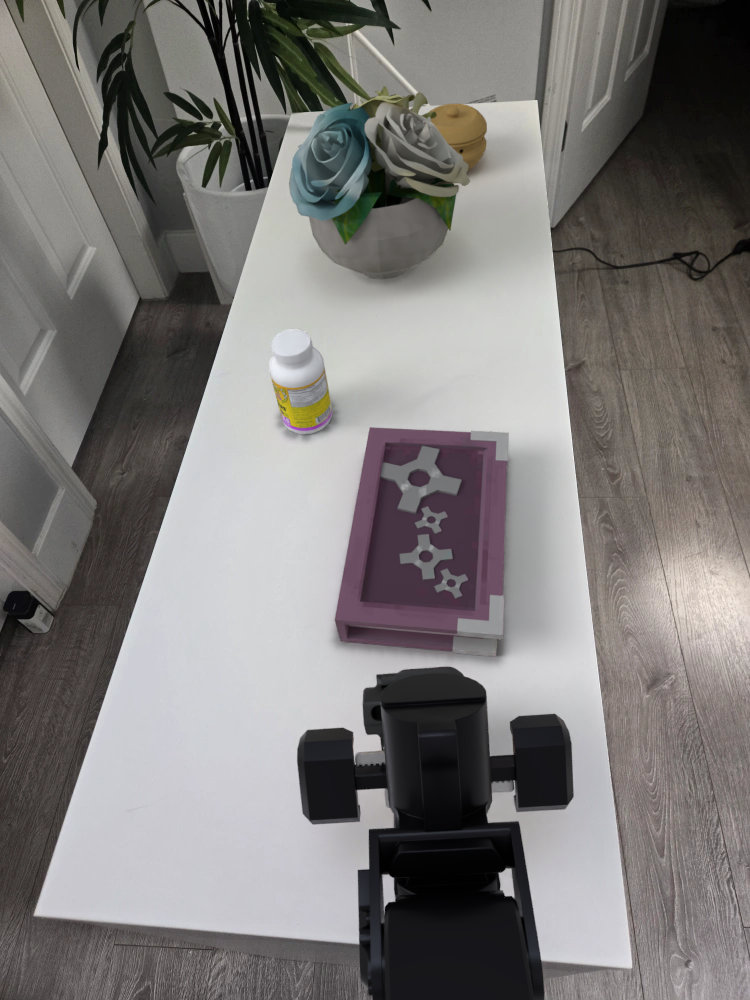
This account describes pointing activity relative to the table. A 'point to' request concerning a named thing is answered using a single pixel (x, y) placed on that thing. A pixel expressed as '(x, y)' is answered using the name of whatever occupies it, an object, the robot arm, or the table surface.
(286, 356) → the supplement bottle
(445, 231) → the flower arrangement
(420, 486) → the book
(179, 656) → the table surface
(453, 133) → the pot
